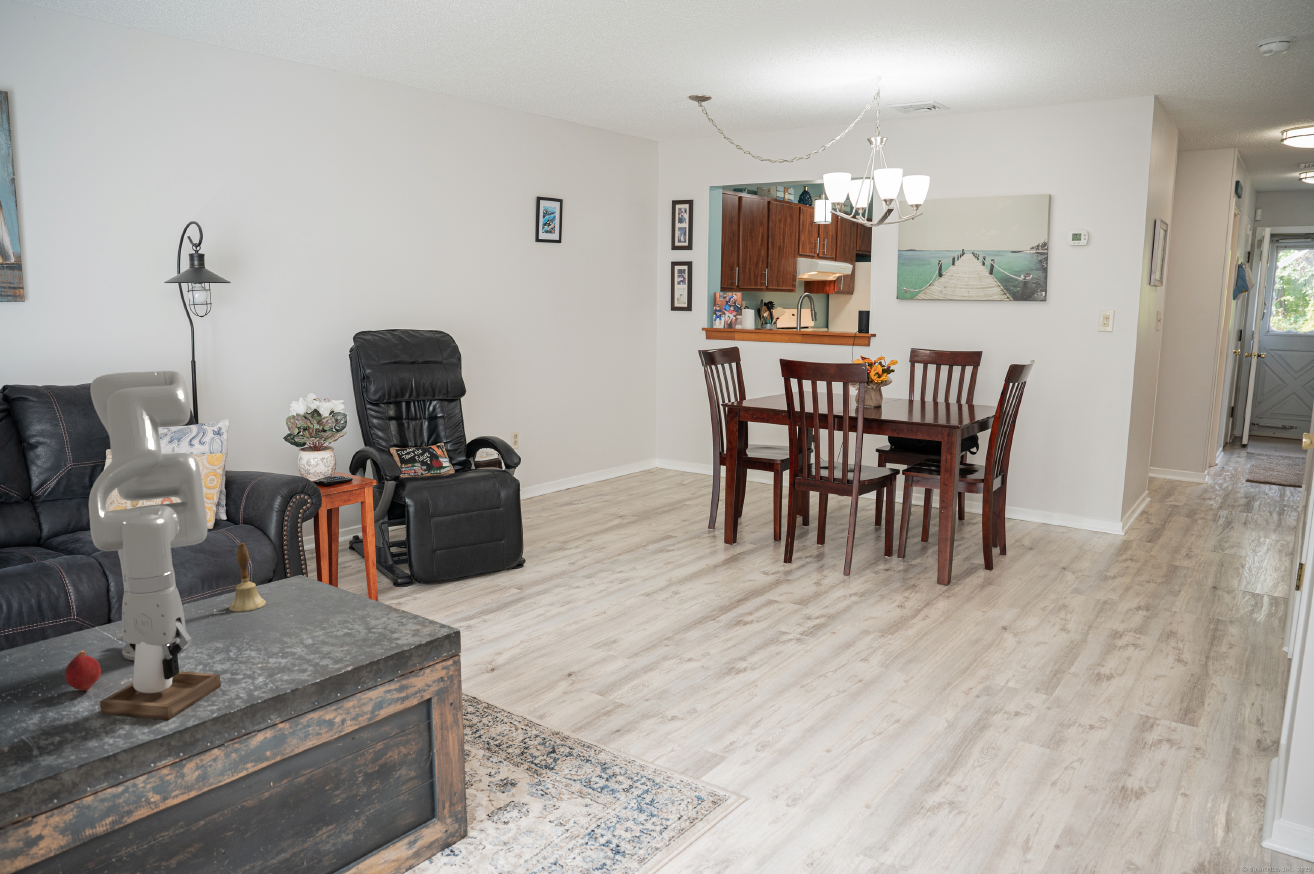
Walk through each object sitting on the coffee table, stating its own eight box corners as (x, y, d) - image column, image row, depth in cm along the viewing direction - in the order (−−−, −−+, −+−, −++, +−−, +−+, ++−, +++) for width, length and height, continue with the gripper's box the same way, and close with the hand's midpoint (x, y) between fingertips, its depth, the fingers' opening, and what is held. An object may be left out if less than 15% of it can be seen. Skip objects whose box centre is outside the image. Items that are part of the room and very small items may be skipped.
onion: (76, 699, 166) (71, 659, 164) (61, 693, 169) (56, 653, 167) (108, 688, 170) (104, 649, 169) (93, 681, 173) (89, 643, 172)
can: (149, 698, 162) (153, 639, 159) (124, 686, 164) (128, 628, 162) (179, 684, 168) (184, 628, 165) (155, 673, 170) (160, 616, 168)
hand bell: (221, 611, 213) (215, 547, 210) (242, 599, 221) (237, 538, 218) (252, 612, 211) (247, 548, 209) (273, 601, 219) (268, 539, 217)
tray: (101, 713, 160) (99, 701, 159) (157, 681, 173) (156, 669, 173) (168, 719, 157) (167, 706, 157) (220, 686, 171) (219, 674, 170)
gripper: (95, 586, 160) (105, 680, 163) (176, 591, 157) (185, 687, 159) (126, 573, 167) (136, 664, 170) (205, 577, 164) (213, 670, 167)
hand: (160, 674), depth 165 cm, fingers closed on can, 4 cm apart
